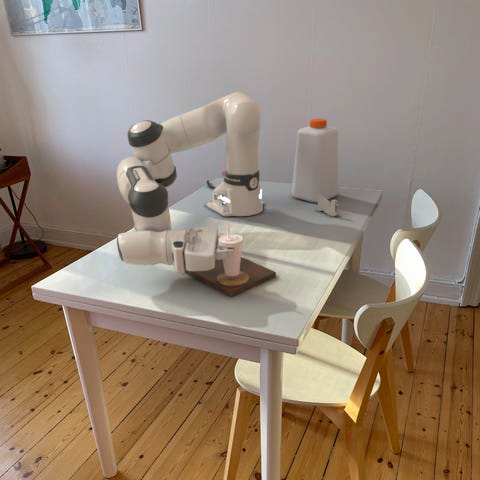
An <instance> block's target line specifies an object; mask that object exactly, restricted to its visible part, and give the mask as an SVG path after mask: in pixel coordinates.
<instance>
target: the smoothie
mask: <svg viewBox="0 0 480 480" xmlns="http://www.w3.org/2000/svg"><path fill="white" fill-rule="evenodd" d="M226 227H227V228H226V231H227V232H226V233H227V234H222V235H223V236H221V237H219V242H218V243H219V244H218V245H219V246H220V250H226V249H227V248H234V257H227V258H224V259H223V264H224V270H225V274H226V275H227V276H236V275H238V274H239V269H240V260H241V257H242V250H243V244H244V242H245V241H244V237H243V236H242V235H240V234H237V233H230V230H231V229H230V221H227V222H226Z"/></svg>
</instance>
